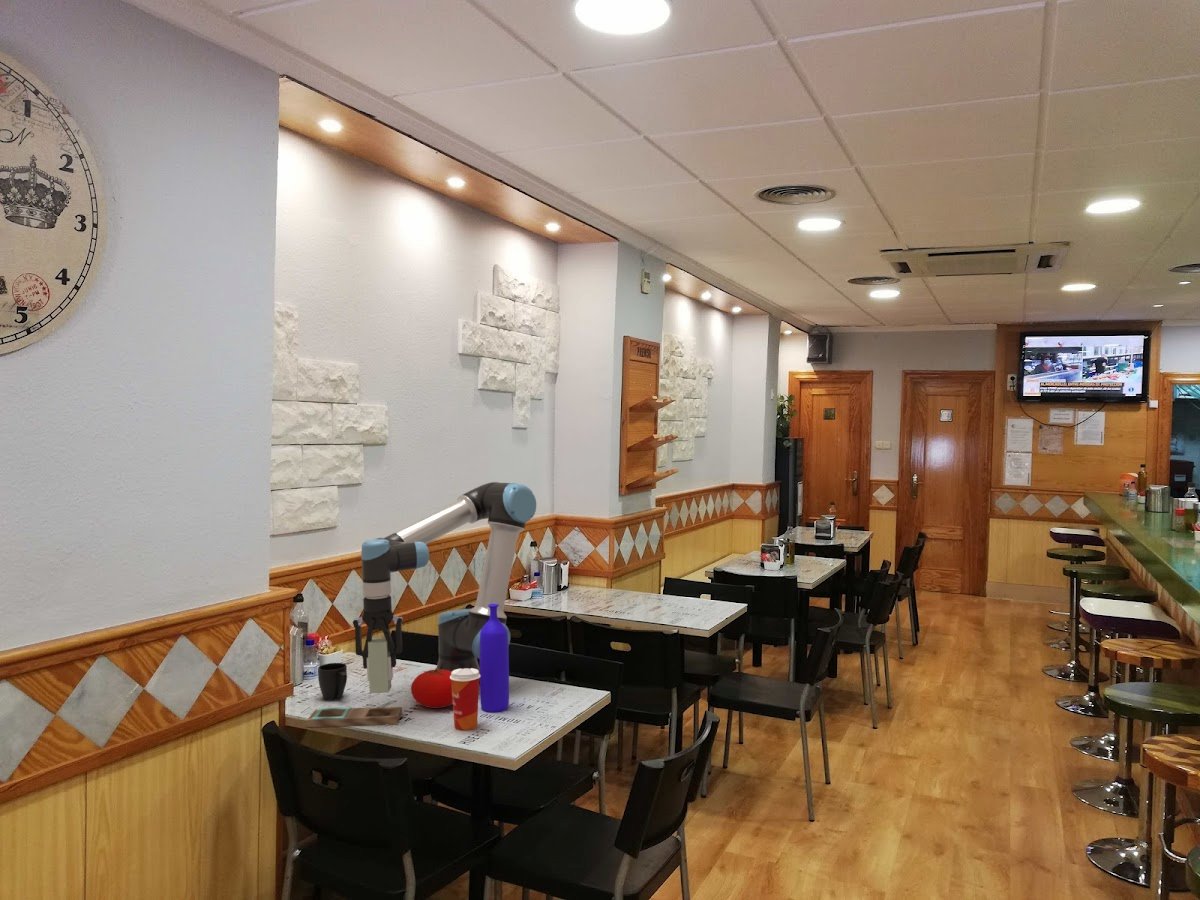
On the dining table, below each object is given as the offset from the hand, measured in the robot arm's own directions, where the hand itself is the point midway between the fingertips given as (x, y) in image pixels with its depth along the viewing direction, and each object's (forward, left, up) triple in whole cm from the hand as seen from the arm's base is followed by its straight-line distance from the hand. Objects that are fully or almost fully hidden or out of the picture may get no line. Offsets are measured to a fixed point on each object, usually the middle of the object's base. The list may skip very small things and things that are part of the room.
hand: (380, 678), depth 246 cm
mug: (+17, -20, -11) cm, 28 cm away
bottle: (-31, -7, -11) cm, 34 cm away
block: (0, 0, -3) cm, 3 cm away
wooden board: (+7, 0, -11) cm, 13 cm away
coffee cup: (-24, +8, -11) cm, 28 cm away
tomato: (-14, -11, -12) cm, 21 cm away
